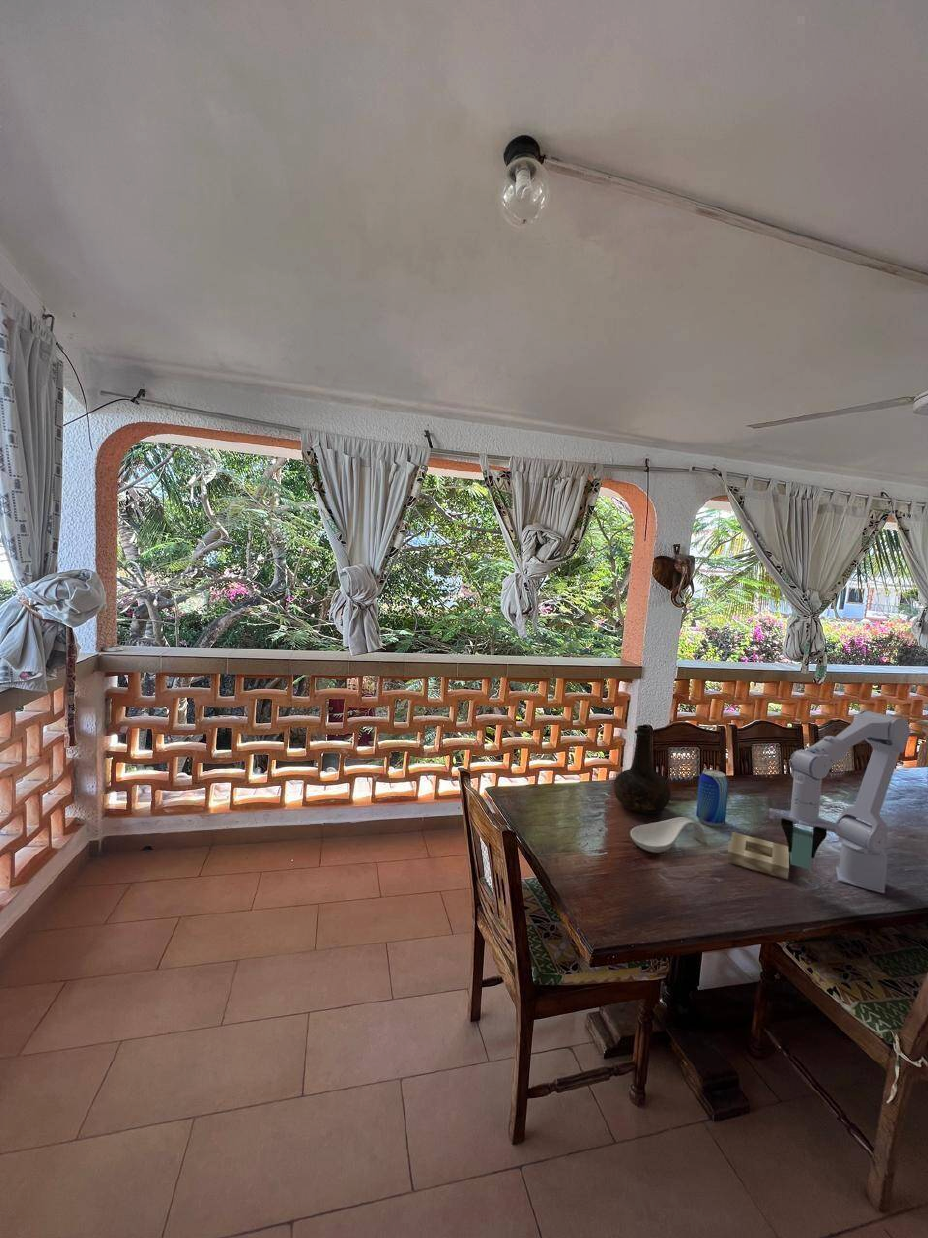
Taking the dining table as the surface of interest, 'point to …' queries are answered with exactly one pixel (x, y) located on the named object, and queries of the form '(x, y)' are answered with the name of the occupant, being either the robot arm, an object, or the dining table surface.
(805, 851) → the teal block
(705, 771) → the beer can
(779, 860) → the board
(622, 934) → the dining table surface
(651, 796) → the glass bottle
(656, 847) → the spoon rest
